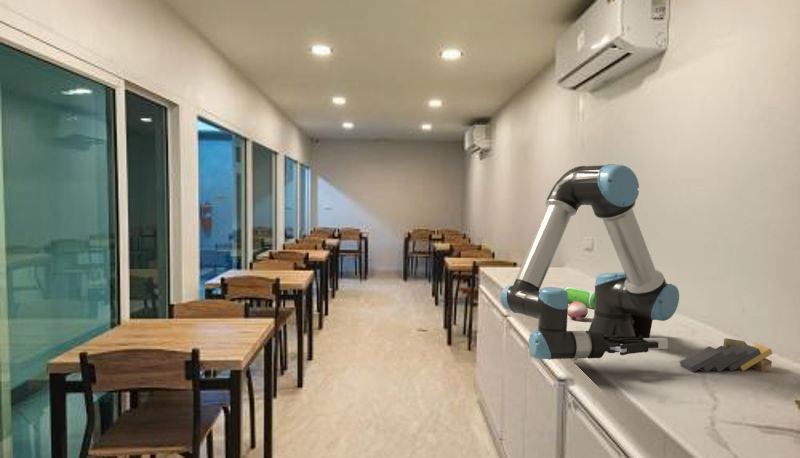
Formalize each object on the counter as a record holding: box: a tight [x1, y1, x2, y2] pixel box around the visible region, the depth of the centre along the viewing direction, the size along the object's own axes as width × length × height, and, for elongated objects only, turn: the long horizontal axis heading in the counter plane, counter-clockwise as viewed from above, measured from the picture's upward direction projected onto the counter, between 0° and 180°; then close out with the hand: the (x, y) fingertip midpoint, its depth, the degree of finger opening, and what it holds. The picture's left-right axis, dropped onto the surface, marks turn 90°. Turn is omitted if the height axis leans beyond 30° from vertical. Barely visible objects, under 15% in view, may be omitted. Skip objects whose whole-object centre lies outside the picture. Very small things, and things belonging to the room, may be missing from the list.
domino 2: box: [699, 345, 736, 373], centre depth 149 cm, size 2×5×10 cm
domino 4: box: [724, 343, 761, 372], centre depth 150 cm, size 2×5×10 cm
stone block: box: [722, 337, 747, 348], centre depth 159 cm, size 6×12×5 cm, turn 154°
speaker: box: [562, 286, 595, 309], centre depth 233 cm, size 18×7×8 cm, turn 33°
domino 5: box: [736, 343, 774, 372], centre depth 150 cm, size 2×5×10 cm
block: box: [750, 358, 773, 373], centre depth 150 cm, size 3×6×3 cm, turn 6°
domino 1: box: [679, 346, 723, 373], centre depth 148 cm, size 2×5×10 cm
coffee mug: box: [631, 314, 653, 339], centre depth 183 cm, size 12×9×10 cm
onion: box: [567, 301, 589, 321], centre depth 207 cm, size 8×8×7 cm
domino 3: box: [712, 345, 748, 372], centre depth 149 cm, size 2×5×10 cm
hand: (666, 343), depth 147 cm, fingers closed
